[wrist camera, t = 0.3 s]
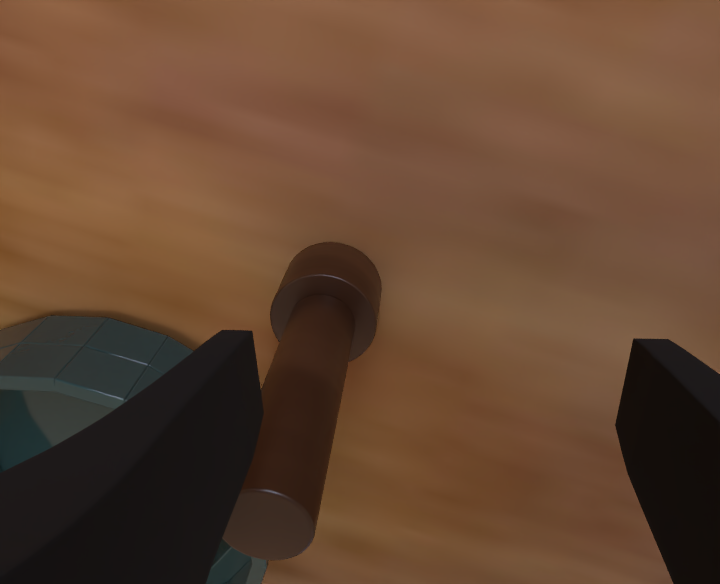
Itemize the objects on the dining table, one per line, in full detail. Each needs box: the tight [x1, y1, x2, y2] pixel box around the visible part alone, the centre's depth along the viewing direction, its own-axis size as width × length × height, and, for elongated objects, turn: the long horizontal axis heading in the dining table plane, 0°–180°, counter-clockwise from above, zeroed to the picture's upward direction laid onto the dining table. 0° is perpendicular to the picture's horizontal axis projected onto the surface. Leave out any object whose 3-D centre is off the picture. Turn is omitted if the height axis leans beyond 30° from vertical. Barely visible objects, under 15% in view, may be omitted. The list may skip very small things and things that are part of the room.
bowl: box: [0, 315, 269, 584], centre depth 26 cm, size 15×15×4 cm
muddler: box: [222, 242, 381, 560], centre depth 18 cm, size 4×4×11 cm
